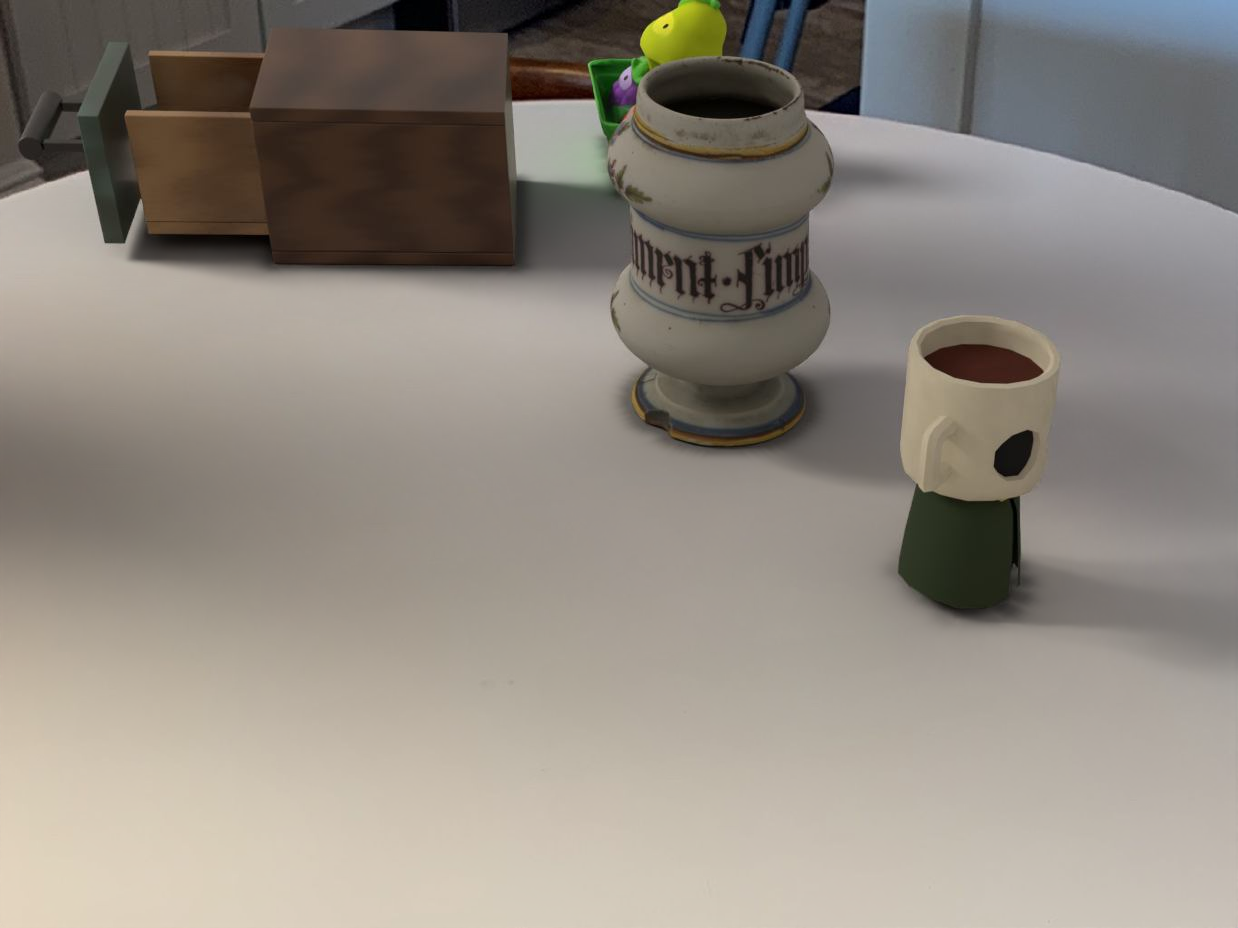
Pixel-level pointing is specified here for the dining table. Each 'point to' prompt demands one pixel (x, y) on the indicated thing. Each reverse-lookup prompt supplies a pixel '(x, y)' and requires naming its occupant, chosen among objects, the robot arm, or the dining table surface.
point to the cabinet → (386, 147)
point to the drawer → (165, 143)
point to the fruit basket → (656, 56)
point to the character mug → (973, 452)
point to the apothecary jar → (720, 247)
